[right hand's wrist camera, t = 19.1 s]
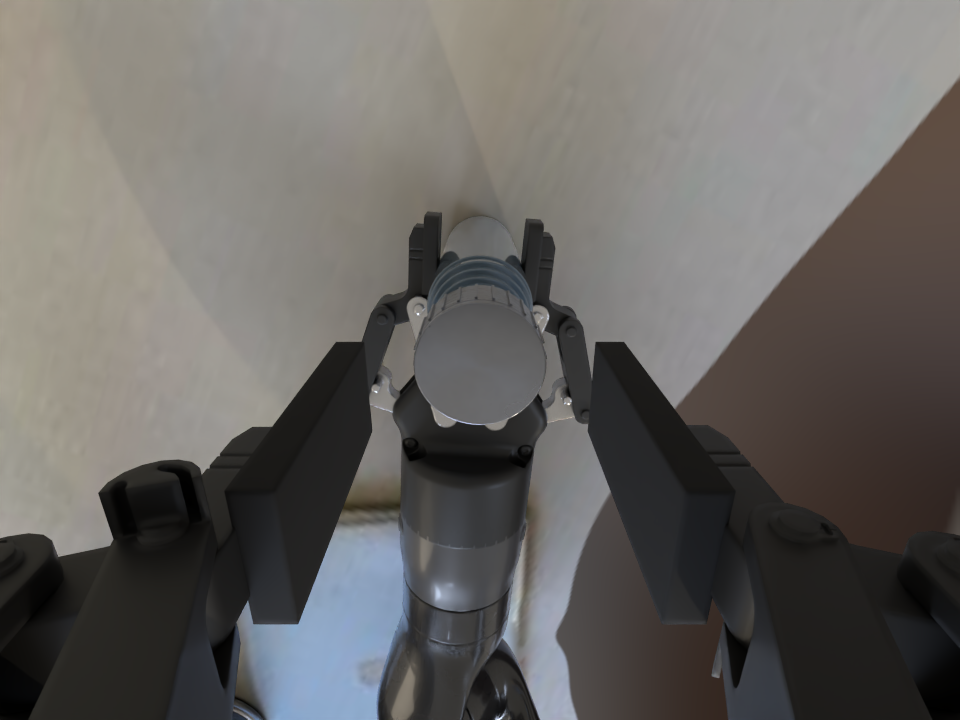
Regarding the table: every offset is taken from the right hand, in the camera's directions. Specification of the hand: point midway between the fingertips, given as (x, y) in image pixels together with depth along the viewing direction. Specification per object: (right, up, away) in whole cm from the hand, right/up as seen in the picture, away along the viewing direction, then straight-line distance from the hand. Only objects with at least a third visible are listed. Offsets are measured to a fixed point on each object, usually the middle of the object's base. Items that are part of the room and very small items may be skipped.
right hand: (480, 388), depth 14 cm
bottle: (0, +7, +18) cm, 19 cm away
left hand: (0, +7, +11) cm, 13 cm away
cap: (0, +1, +1) cm, 1 cm away
